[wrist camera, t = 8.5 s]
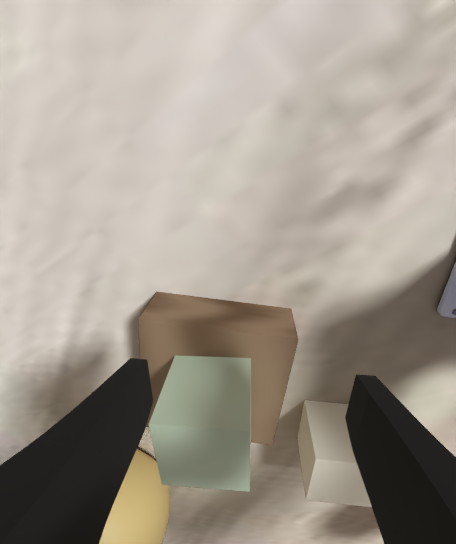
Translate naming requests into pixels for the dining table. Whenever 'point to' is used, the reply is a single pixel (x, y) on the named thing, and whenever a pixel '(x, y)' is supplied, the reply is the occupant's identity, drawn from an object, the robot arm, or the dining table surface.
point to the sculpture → (139, 506)
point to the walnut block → (223, 347)
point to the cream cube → (329, 456)
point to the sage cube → (204, 423)
